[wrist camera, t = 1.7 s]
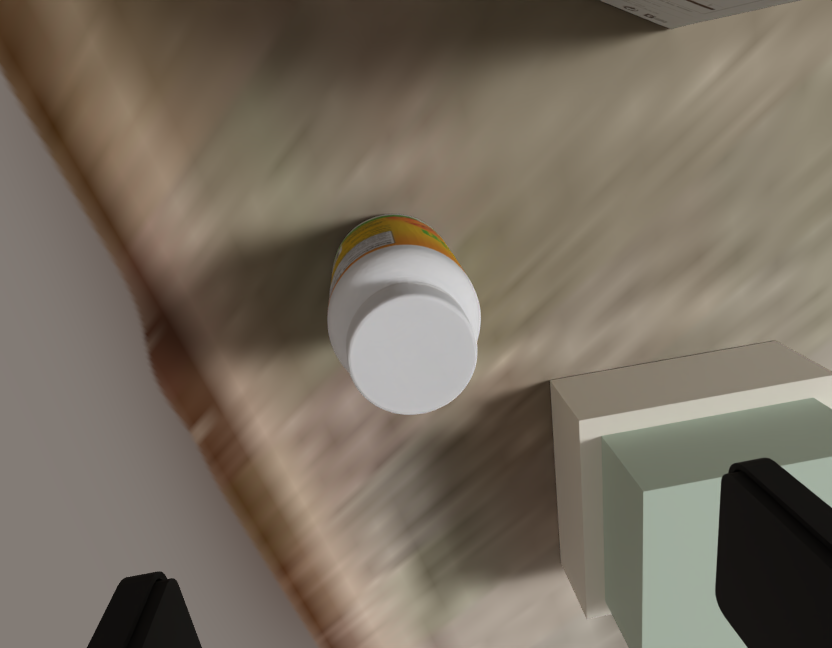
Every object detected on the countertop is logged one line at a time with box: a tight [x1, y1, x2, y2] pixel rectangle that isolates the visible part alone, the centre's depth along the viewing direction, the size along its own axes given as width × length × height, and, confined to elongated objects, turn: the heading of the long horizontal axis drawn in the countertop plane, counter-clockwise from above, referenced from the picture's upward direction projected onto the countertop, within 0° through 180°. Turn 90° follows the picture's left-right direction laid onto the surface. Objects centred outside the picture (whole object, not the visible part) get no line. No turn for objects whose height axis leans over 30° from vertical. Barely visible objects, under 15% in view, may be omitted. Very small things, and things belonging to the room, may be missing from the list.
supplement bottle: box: [327, 214, 481, 415], centre depth 22 cm, size 5×5×10 cm
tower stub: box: [550, 341, 832, 648], centre depth 28 cm, size 12×12×8 cm
